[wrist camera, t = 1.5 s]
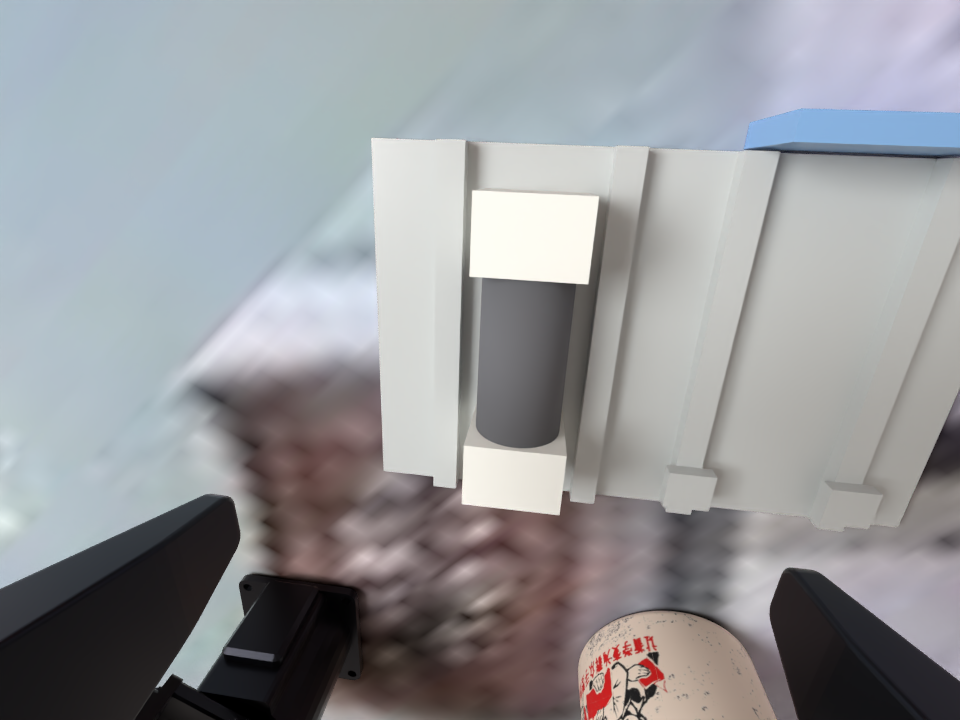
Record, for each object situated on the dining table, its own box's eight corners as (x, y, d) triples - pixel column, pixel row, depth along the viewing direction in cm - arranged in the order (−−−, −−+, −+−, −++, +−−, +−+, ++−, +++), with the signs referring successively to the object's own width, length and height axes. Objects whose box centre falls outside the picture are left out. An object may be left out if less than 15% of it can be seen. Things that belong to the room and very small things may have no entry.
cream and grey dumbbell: (556, 460, 21) (559, 515, 17) (474, 452, 21) (461, 504, 18) (587, 192, 17) (598, 196, 13) (486, 188, 17) (472, 190, 14)
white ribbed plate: (891, 521, 20) (955, 585, 17) (386, 466, 22) (360, 513, 19) (1061, 132, 15) (1201, 119, 12) (374, 111, 17) (335, 95, 14)
